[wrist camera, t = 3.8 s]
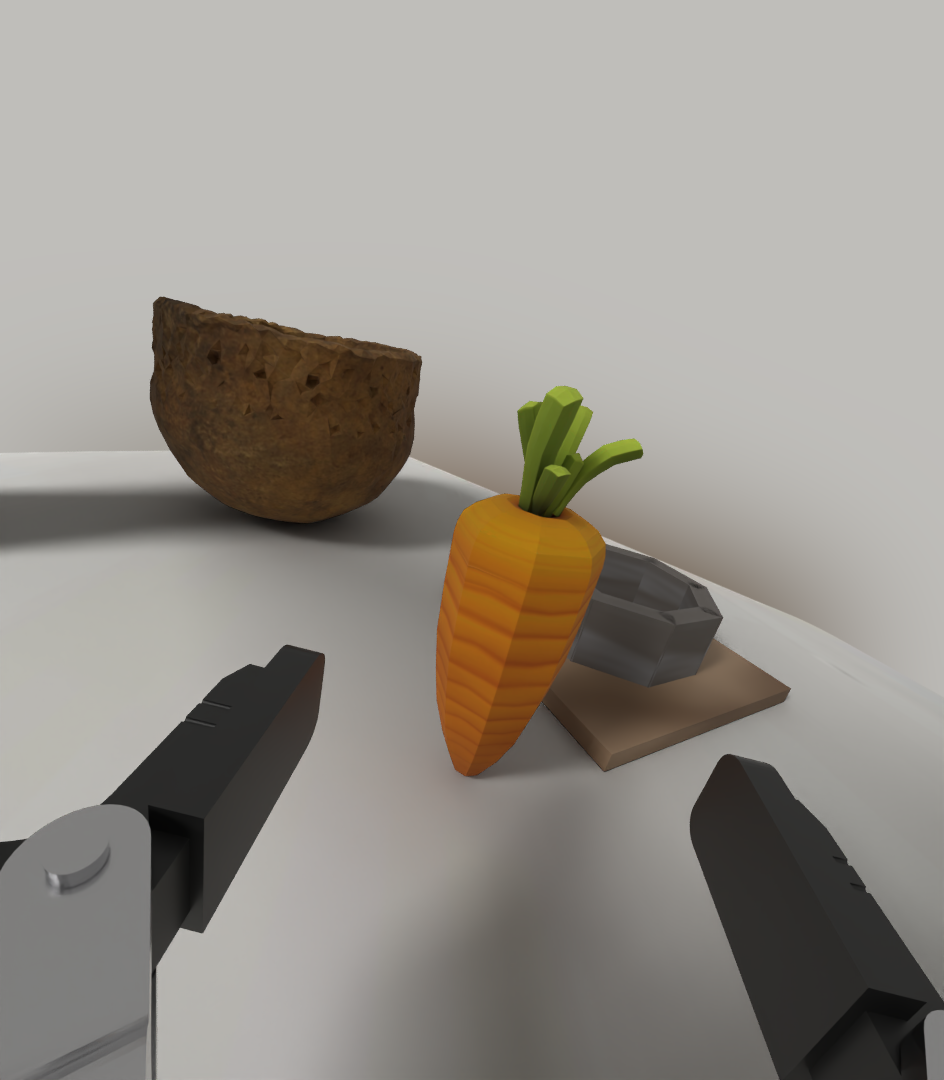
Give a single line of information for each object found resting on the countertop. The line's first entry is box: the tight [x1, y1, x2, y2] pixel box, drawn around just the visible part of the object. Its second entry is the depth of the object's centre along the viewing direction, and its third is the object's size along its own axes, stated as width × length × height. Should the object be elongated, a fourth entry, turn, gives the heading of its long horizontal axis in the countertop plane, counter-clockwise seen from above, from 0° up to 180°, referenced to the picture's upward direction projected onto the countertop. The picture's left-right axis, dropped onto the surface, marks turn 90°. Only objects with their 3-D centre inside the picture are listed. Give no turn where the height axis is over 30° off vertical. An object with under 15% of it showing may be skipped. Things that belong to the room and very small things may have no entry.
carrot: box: [436, 386, 643, 776], centre depth 16 cm, size 5×5×15 cm
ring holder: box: [542, 544, 791, 772], centre depth 30 cm, size 16×16×5 cm
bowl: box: [150, 297, 422, 523], centre depth 36 cm, size 19×19×15 cm
